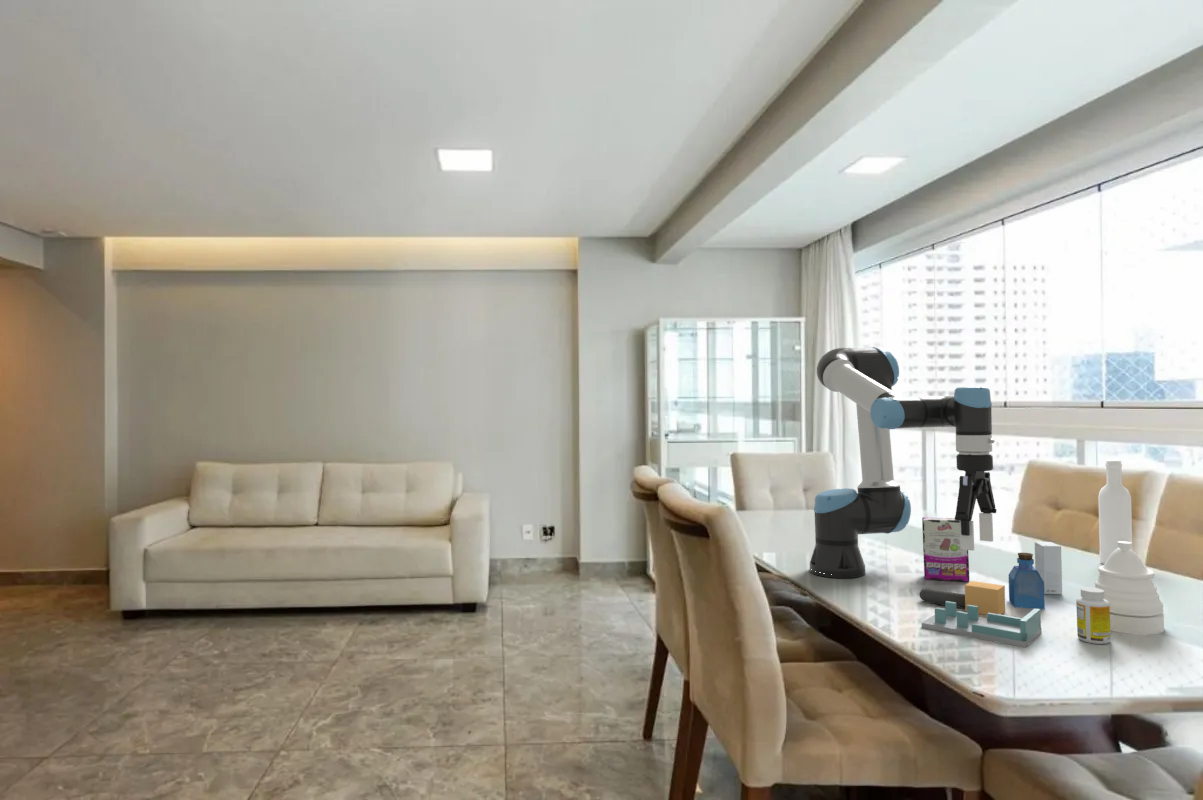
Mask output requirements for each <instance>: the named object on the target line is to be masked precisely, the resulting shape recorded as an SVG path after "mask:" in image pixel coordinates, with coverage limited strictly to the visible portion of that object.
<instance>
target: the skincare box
mask: <svg viewBox="0 0 1203 800" xmlns="http://www.w3.org/2000/svg"><path fill="white" fill-rule="evenodd" d="M1062 561H1063V560H1062V546H1060V545H1059V544H1056V543H1054V542H1052V541H1034V568H1035V569H1036V570H1037V571H1038V573H1039V574H1040V576H1041V578H1042V580H1043V581H1044V595H1063V575H1062V574H1063V568H1062Z"/></svg>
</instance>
